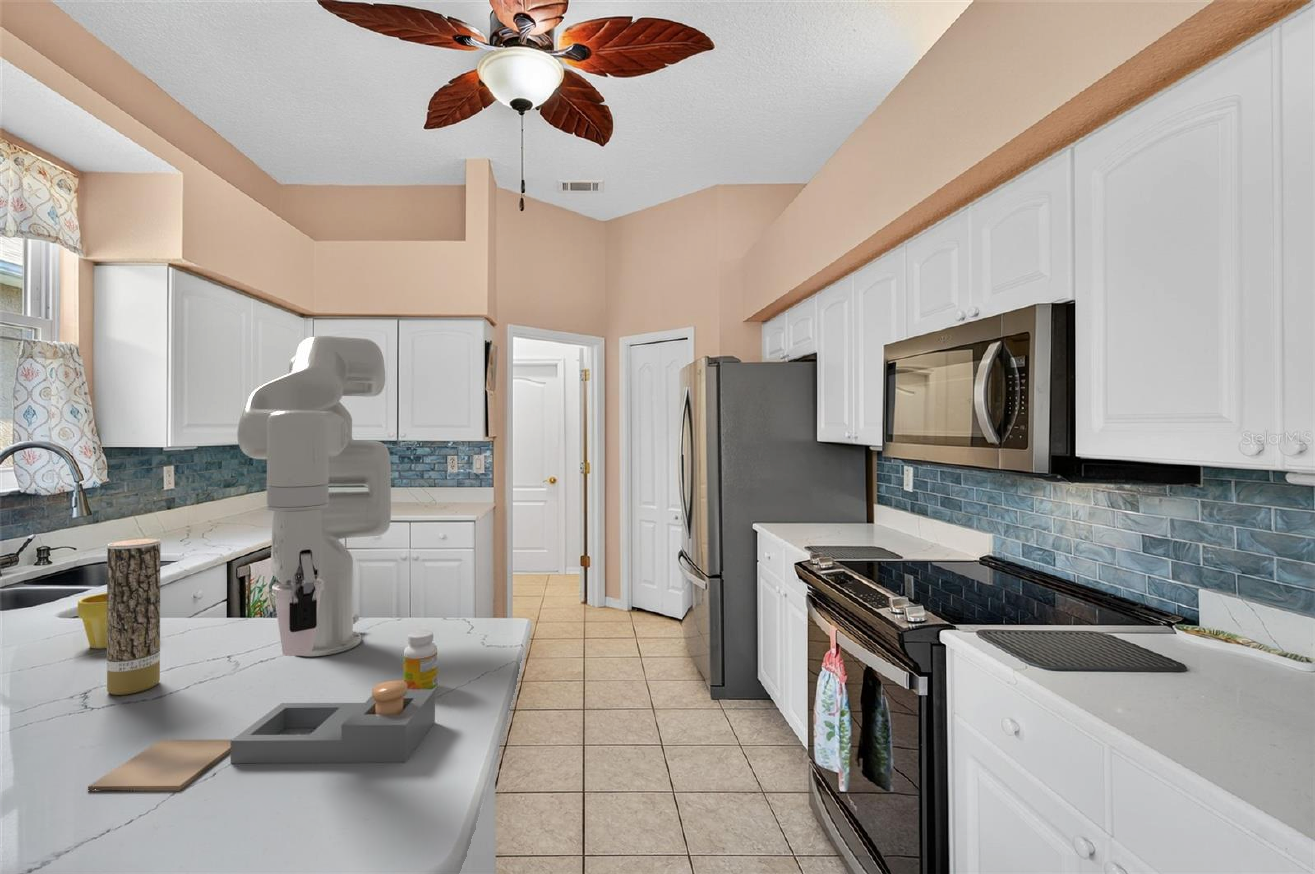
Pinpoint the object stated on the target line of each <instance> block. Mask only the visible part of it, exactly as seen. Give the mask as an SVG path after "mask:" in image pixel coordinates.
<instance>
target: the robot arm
mask: <svg viewBox="0 0 1315 874" xmlns="http://www.w3.org/2000/svg"><path fill="white" fill-rule="evenodd" d="M385 366H386V365H385V358H384V355H383V352H382V350H381V348H380V346H379V345H378V344H377V343H376V342H375V341H373V340H371V339H368V338H360V337H359V338H358V337H347V336H346V337H345V336H329V335H316V336H312V337H310V336H309V337H307V338H306V339H304V340H303V341H302V342H301V343H299V344H298V347H297V349H296V352H295V355H294V357H292V358H291V359H290V362H289V365H288V373H289V374H286V375H283V376H281V377H278V378H276V379H274V380H271V381H269V382H267V383H264V384H263V385H262V386H259V387H258V388H256V389H255V390H253V392H251V394H250V395H249V396H248V398H247V399H246V402H245V405H244V407H243V410H242V412H241V415H240V418H239V421H238V428H237V435H236V436H237V443H238V446H239V448H240V450H241V452H242V453H243V454H244V455H246V456H248V457H249V458H252V459H256V460H266V510H267V511H269V512H270V511H271V512H273V515H272V516H273V517H272V526H271V527H272V528H271V550H270V572H271V574H272V575H273V576H274V578H275V579H276V580H277V581H278V583H279V582H281V583H283V584H286V583H287V581H288V580H291V592H292V603H289V629H290V631H291V632H298V631H303V630H308V629H313V628H315V627H316V630H315V637H314V644H313V650H312V651H310V652H308V653H306V654H302V655H298V657H323V656H330V655H335V654H339V653H342V652H345V651H346V652H347V651H349V650H351V649H353V648H355V647H357V646H358V645H360V643H361V641H362V634H360V633H359V632H356V631H354V625H355V624H356V623H358V622H359V620H360V616H359V614H357V613H354V559H353V556H352V553H351V552H350V551H349V549H348V548H346V547H345V545H344V544H343V543H342V542H341V541H340V540H341V539H342V540H343V539H349V538H367V537H378V536H382V535H385V533H387V532H388V531H389V528H390V526H391V522H392V519H391V518H392V485H391V484H392V480H391V479H392V474H391V473H392V469H391V468H392V467H391V464H392V463H391V456H390V451H389V449H388V447H387V445H386V444H385V443H384V442H381V441H379V440H370V439H369V440H368V439H367V440H362V439H361V440H355V439H353V418H352V416H351V413H350V412H349V410H348V409H347V408H346V407H345V406H344V405H343V404H342V403H341V402H340V401H341V399H342V398H343V397H369V398H370V397H376V396H379V395H380V394H382V392H383V390H384V389H385V386H386V385H385V384H386V367H385ZM329 486H330V487H331V486H338V487H339V486H363V487H365V488H367V490H368V491H366V490H365V491H329ZM295 576H297V579H295ZM300 578H302V579H300ZM315 579H321V580H323V586H324V588H323V590H321V595H320V602H319V609H318V616H317V599H316V586H315ZM299 584H302V586H299V588H298V592H297V585H299Z"/></svg>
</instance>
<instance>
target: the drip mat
mask: <svg viewBox="0 0 1315 874" xmlns="http://www.w3.org/2000/svg"><path fill="white" fill-rule="evenodd" d="M231 740H232V738H231V739H160V740H159V741H157V742H156V743H155V744H153V745H151V746H150V747H148V748H145V750H144V751H141V752H140V753H138V754H137V755H135V756H133V757H132V758H130V759H129V760H128V761H126V762H124V763H123V764H121V765H119V766H118V767H116V768H115V769H113V770H111V771H110V772H109V773H107V774H105V775H104V776H102V777H101V778H99V779H97V780H96V781H94V782H92V783H91V784H90V785H87V791H88V790H95V789H96V790H124V791H123V792H126V791H125V790H128V791H127V792H145V790H146V792H155V791H156V792H164V791H165V792H166V791H167V792H170V791H171V792H176V791H178V792H179V791H181V790H182V789H184V788H185V787H186V786H188V785H189V784H190V783H192V782H193V781H194V780H196V779H198V778H199V777H200V776H201V775H202V774H204V773H205V772H206V771H207V770H208V769H210V768H211V767H212V766H214V765H215V764H216V763H218V762H219V761H221V759H223V758H224V757H225V756H227V755H228V754H231ZM129 790H130V791H129ZM132 790H133V791H132Z"/></svg>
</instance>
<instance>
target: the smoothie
mask: <svg viewBox="0 0 1315 874" xmlns="http://www.w3.org/2000/svg"><path fill="white" fill-rule="evenodd" d="M295 579H297V576H295ZM300 579H302V578H300ZM299 586H302V584H299V585H297V592H298V588H299ZM315 586H316V599H317V616H318V609H319V602H320V595H321V590H323V588H324V586H323V580H321V579H315ZM271 595H272V596H274V604H275V610H276V617H277V622H278V623H277V624H278V629H279V630H278V631H279V637H280V645H281V652H282V655H283V656H285V657H287V656H288V657H297V656H299V655H302V654H306V653H308V652H310V651H312V650H313V644H314V637H315V630H316V627H315V628H313V629H308V630H303V631H298V632H291V631H290V629H289V603H292V592H291V580H288V581H287V583H286V584H283V583H281V582H279V581H278V582H277V583H275V584H273V585H272V587H271Z"/></svg>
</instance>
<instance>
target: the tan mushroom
mask: <svg viewBox="0 0 1315 874" xmlns="http://www.w3.org/2000/svg"><path fill="white" fill-rule="evenodd" d="M406 694H407V683H406V682H404V681H403V680H388V681H384V682H383V681H382V682H380V683H377V684H376V685H375V686H373V687H372V688H371V696H372V699H373V700H375V701H376V714H401V713H402V711H403V696H405V695H406Z"/></svg>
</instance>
